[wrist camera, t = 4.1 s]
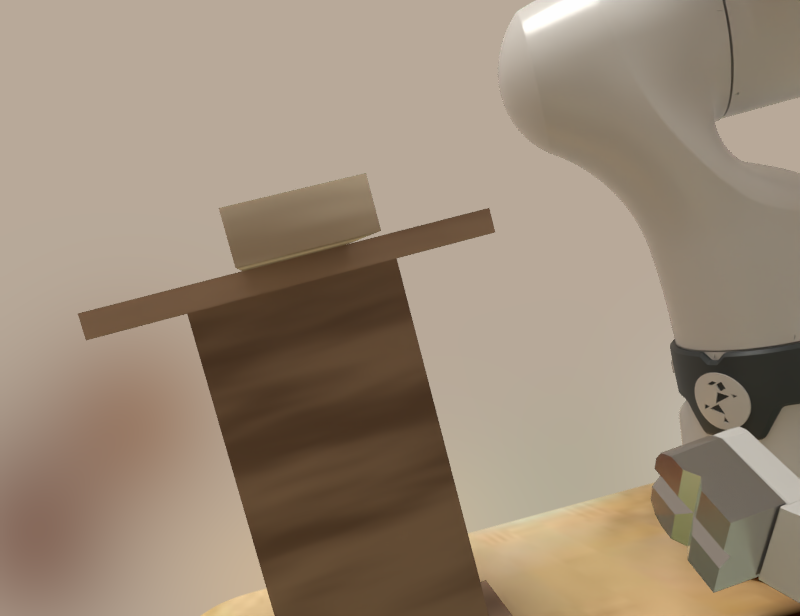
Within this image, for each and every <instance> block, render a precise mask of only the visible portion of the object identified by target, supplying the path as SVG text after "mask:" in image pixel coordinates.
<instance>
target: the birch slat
mask: <svg viewBox="0 0 800 616" xmlns="http://www.w3.org/2000/svg"><path fill="white" fill-rule="evenodd" d="M219 210H220V214H221V217H222V221H223V224H224V228H225V232H226V235H227V239H228V242H229V246H230V250H231V253H232V257H233V260H234V264H235V267H236V268H237V269H239V270H242V271H246V270H250V269H254V268H258V267H261V266H265V265H269V264H273V263H277V262H281V261H285V260H289V259H293V258H297V257H300V256H304V255H308V254H312V253H316V252H320V251H324V250H328V249H332V248H335V247H339V246H343V245H346V244H349V243H351V242H354V241H356V240H359V239H361V238H364V237H366V236H369V235H371V234H374V233H376V232H379V231H381V229H380V225H379V221H378V218H377V214H376V210H375V206H374V202H373V198H372V194H371V191H370V187H369V183H368V179H367V176H366V173H364V174H360V175H356V176H352V177H347V178H343V179H339V180H335V181H331V182H327V183H322V184H318V185H314V186H310V187H305V188H301V189H297V190H293V191H289V192H284V193H280V194H276V195H272V196H268V197H264V198H259V199H255V200H251V201H247V202H242V203H238V204H234V205H230V206H226V207H222V208H219Z"/></svg>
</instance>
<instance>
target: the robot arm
mask: <svg viewBox="0 0 800 616" xmlns="http://www.w3.org/2000/svg"><path fill="white" fill-rule="evenodd" d="M498 80H499V88H500V92H501V97H502V100H503V103H504V106H505V108H506V110H507V113H508V115H509V116H510V118H511V120H512V121H513V123H514V124H515V126H516V127H517V128H518V130H519V131H520V132H521V133H522V134H523V135H524V136H525V137H526V138H527V139H528V140H529V141H531V142H532V143H533V144H535V145H536V146H537V147H539V148H541V149H542V150H544V151H546V152H548V153H550V154H553V155H556V156H559V157H561V158H564V159H566V160H568V161H570V162H572V163H574V164H576V165H578V166H580V167H581V168H583V169H584V170H586V171H588V172H589V173H591V174H592V175H594V176H595V177H596V178H597V179H599V180H600V181H601V182H603V183H604V184H605V185H606V186H607V187H608V188H610V189H611V190H612V191H613V192H614V193H615V194H616V195H617V196H618V198H619V199H620V200H621V201H622V202H623V203H624V205H625V206H626V207H627V208H628V210H629V211H630V212H631V214H632V215H633V217H634V218H635V220H636V222H637V223H638V225H639V227H640V229H641V230H642V232H643V235H644V237H645V239H646V241H647V244H648V246H649V249H650V252H651V254H652V258H653V260H654V263H655V266H656V269H657V273H658V276H659V279H660V282H661V286H662V289H663V293H664V297H665V300H666V304H667V308H668V312H669V316H670V321H671V325H672V329H673V333H674V338H675V339H674V340H673V342H672V343H671V345H670V349H671V355H672V369H673V373H675V376H676V380H677V385H678V389H679V392H680V394H681V395H682V396H683V397H685V398H686V401H685V403H684V404H683V405H682V406H681V408H680V411H679V419H680V429H681V437H682V446H679V447H676V448H674V449H671V450H668V451H665V452H663V453H661V454H660V455H659V456H658V457H657V458H656V464H655V470H656V471H657V472H658V473H659V474H660V477H659V478H658V480H657V481H656V482H655V483H654V485H653V486H652V496H651V501H652V504H653V508H654V511H655V515H656V516H657V518H658V520H659V522H660V524H661V526H662V527H663V528H664V530H665V531H666V532H667V534H668V535H669V536H670V538H671V539H673V540H675V541H677V542H680V543H682V544H684V545H686V546H687V551H688V561H689V562H690V563H691V565H692V566H693V567H694V568H695V570H696V571H697V572H698V574H699V575H700V576H701V577H702V579H703V580H704V581H705V582H706V584H707V585H708V586H709V587H710V589H711V590H712V591H713V593H714V592H717V591H720V590H722V589H725V588H728V587H731V586H734V585H736V584H739V583H742V582H745V581H747V580H750V579H753V578H756V577H759V580H760V581H762V582H764V583H766V584H767V585H769V586H771V587H772V588H774V589H776V590H778V591H779V592H781V593H783V594H785V595H786V596H788V597H790V598H792V599H793V600H795V601H797V602H798V603H800V173H797V172H794V171H790V170H786V169H782V168H777V167H772V166H766V165H761V164H755V163H748V162H744V161H741V160H739V159H738V158H737V157H735V156H734V155H733V154H732V153H731V152H730V151H729V150H728V149H727V148H726V146H725V145H724V144H723V142H722V140H721V138H720V136H719V134H718V132H717V129H716V126H715V121H718V120H720V119H721V118H725V117H729V116H732V115H736V114H740V113H743V112H747V111H751V110H754V109H758V108H762V107H765V106H769V105H773V104H776V103H780V102H783V101H787V100H791V99H795V98H798V97H800V0H536V1H534V2H532V3H530V4H529V5H527V6H525V7H524V8H522V9H520V10H518V11H517V12H516V13H515V15H514V17H513V19H512V20H511V22H510V24H509V26H508V28H507V31H506V33H505V36H504V39H503V41H502V45H501V50H500V54H499V62H498Z"/></svg>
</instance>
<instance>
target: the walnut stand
mask: <svg viewBox="0 0 800 616" xmlns="http://www.w3.org/2000/svg"><path fill="white" fill-rule="evenodd" d="M494 232H495V230H494V226H493V222H492V218H491V214H490V210H489V208H488V209H483V210H480V211H476V212H472V213H468V214H464V215H460V216H456V217H452V218H448V219H444V220H441V221H437V222H433V223H429V224H425V225H421V226H417V227H413V228H409V229H406V230H402V231H398V232H394V233H390V234H386V235H382V236H378V237H374V238H370V239H367V240H363V241H359V242H355V243H351V244H347V245H343V246H339V247H335V248H332V249H328V250H324V251H320V252H316V253H312V254H308V255H304V256H300V257H297V258H293V259H289V260H285V261H281V262H277V263H273V264H269V265H265V266H261V267H258V268H254V269H250V270H246V271H242V272H238V273H235V274H231V275H227V276H223V277H219V278H215V279H211V280H207V281H203V282H200V283H195V284H192V285H188V286H184V287H180V288H176V289H172V290H168V291H164V292H160V293H156V294H152V295H148V296H145V297H141V298H137V299H133V300H129V301H125V302H121V303H118V304H114V305H110V306H106V307H102V308H98V309H94V310H90V311H86V312H82V313H79V314H78V316H79V318H80V322H81V325H82V329H83V332H84V335H85V339H86V340H89V339H93V338H97V337H100V336H104V335H108V334H112V333H115V332H119V331H123V330H127V329H131V328H134V327H138V326H142V325H146V324H150V323H153V322H157V321H161V320H164V319H168V318H172V317H176V316H180V315H184V314H188V317H189V321H190V324H191V328H192V331H193V335H194V338H195V342H196V345H197V349H198V352H199V356H200V359H201V362H202V366H203V369H204V373H205V376H206V380H207V383H208V386H209V390H210V394H211V397H212V401H213V404H214V407H215V411H216V414H217V418H218V421H219V425H220V428H221V432H222V435H223V439H224V442H225V446H226V449H227V452H228V456H229V459H230V463H231V466H232V470H233V473H234V477H235V480H236V483H237V487H238V491H239V494H240V497H241V501H242V504H243V508H244V511H245V514H246V518H247V522H248V525H249V528H250V532H251V535H252V539H253V542H254V546H255V549H256V553H257V556H258V559H259V563H260V567H261V570H262V573H263V577H264V580H265V584H266V587H267V591H268V594H269V598H270V601H271V605H272V608H273V612H274V615H275V616H512V614H511V613H510V612H509V611H508V609H507V608H506V607H505V605H504V604H503V603H502V601H501V600H500V599H499V597H498V596H497V595H496V593H495V592H494V591H493V589H492V588H491V587H490V585H489V584H488V583H487V581H486V580H485V581H482V582H480V579H479V576H478V572H477V568H476V564H475V560H474V556H473V552H472V549H471V545H470V541H469V537H468V533H467V529H466V525H465V522H464V518H463V514H462V510H461V506H460V502H459V498H458V495H457V491H456V487H455V483H454V479H453V476H452V472H451V467H450V464H449V460H448V456H447V452H446V448H445V445H444V440H443V437H442V433H441V429H440V425H439V421H438V417H437V414H436V410H435V406H434V402H433V398H432V394H431V390H430V387H429V382H428V379H427V375H426V371H425V367H424V363H423V359H422V355H421V352H420V348H419V344H418V340H417V336H416V332H415V329H414V325H413V321H412V317H411V313H410V310H409V306H408V301H407V298H406V294H405V290H404V286H403V282H402V278H401V274H400V270H399V267H398V263H397V259H396V258H399V257H403V256H407V255H411V254H414V253H419V252H422V251H426V250H429V249H434V248H437V247H441V246H445V245H449V244H452V243H456V242H460V241H464V240H467V239H472V238H475V237H479V236H483V235H487V234H490V233H494Z"/></svg>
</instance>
